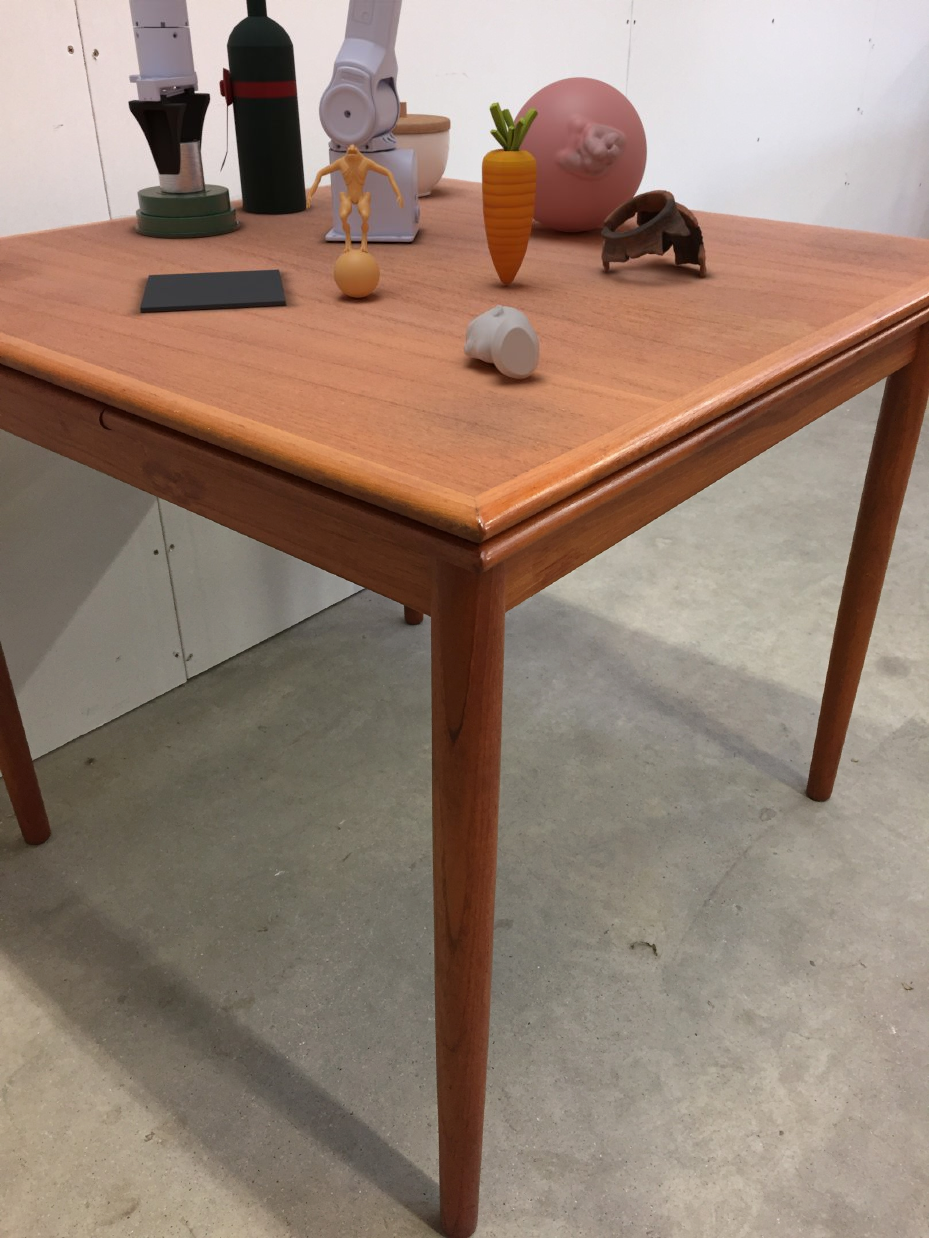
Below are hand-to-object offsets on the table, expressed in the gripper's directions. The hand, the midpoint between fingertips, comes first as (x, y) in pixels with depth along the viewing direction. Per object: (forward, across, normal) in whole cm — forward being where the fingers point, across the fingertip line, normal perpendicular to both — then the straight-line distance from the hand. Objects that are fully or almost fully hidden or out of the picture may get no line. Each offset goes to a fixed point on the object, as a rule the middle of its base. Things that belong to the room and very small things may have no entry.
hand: (180, 169), depth 112 cm
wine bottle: (+6, -13, +6) cm, 16 cm away
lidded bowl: (+6, -26, +22) cm, 35 cm away
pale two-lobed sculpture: (+6, +49, +37) cm, 62 cm away
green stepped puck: (+6, 0, 0) cm, 6 cm away
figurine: (+6, +29, +24) cm, 38 cm away
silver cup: (+2, 0, 0) cm, 2 cm away
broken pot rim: (+6, +18, +51) cm, 55 cm away
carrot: (+6, +25, +37) cm, 45 cm away
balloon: (+6, +1, +44) cm, 45 cm away
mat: (+6, +29, +11) cm, 32 cm away
